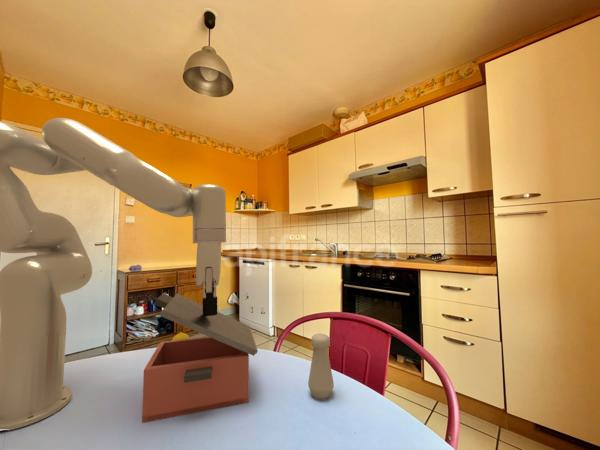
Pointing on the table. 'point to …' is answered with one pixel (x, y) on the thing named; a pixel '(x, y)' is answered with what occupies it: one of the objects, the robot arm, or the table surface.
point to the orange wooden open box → (193, 378)
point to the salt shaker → (320, 368)
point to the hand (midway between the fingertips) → (210, 314)
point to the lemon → (180, 336)
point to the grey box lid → (207, 322)
